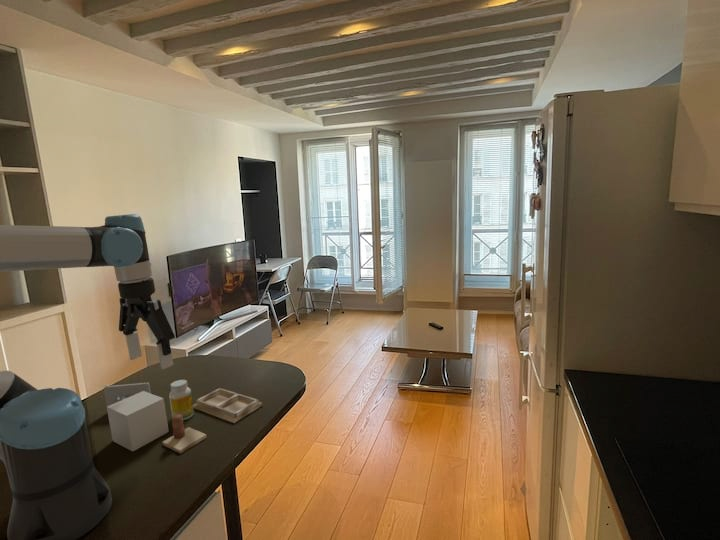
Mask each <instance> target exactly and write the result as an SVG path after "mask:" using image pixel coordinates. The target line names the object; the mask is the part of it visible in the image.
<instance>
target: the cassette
mask: <svg viewBox="0 0 720 540" xmlns="http://www.w3.org/2000/svg"><path fill="white" fill-rule="evenodd" d="M142 391H145V392H148V393H150V394H152V391H151V385H150V383H149V382H148V381H147V382H137V383H127V384H126V383H125V384H117V385H116V384H115V385H105V386H104V387H103V394H104V398H105V405H106V408H107V407H108V406H110V405H112V404H114V403H117V402H119V401H121V400H124V399H126V398H127V397H125V396H133V395H135V394H138V393H140V392H142Z"/></svg>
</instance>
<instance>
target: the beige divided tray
mask: <svg viewBox="0 0 720 540" xmlns="http://www.w3.org/2000/svg"><path fill="white" fill-rule="evenodd" d="M263 406H264V404H263V402H261V401H260V400H259V399H258V398H254V397H252V396H247V395H244V394H240V393H238V392H235V391H231V390H228V389H225V388H222V387H219V388H218V389H215V390H213V391H211V392H209V393H208V394H205V395H203V396H201V397H199V398H198V399H195V403H193V410H197V411H200V412H203V413H205V414H207V415H211V416H214V417H217V418H219V419H220V420H221V419H222V420H224V421H227V422H229V423H233V424H236V423H237V422H239V421H240V420H242V419H243V418H245V417H246V416H249V415H250V414H252V413H253V412H255V411H257V409H260V408H261V407H263Z"/></svg>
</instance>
